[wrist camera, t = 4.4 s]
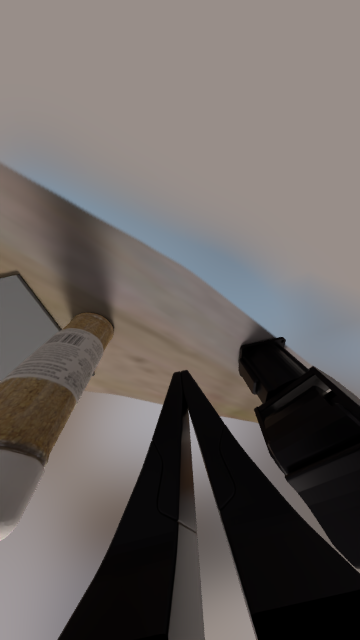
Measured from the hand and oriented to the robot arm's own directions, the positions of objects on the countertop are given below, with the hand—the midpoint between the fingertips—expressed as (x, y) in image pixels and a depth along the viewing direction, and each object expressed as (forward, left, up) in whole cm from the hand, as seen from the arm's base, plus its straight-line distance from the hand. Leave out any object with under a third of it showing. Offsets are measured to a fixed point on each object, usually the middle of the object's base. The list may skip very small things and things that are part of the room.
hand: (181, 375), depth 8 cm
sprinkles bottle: (+9, 0, -9) cm, 13 cm away
